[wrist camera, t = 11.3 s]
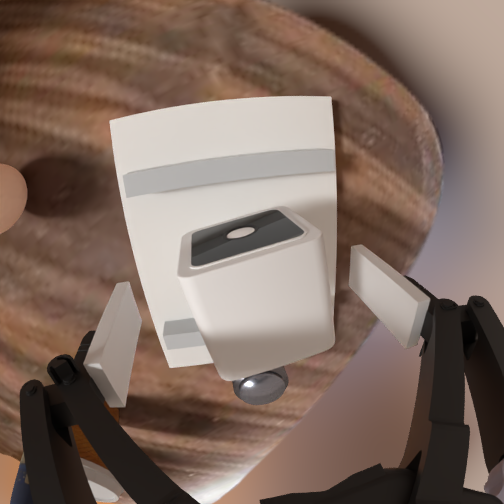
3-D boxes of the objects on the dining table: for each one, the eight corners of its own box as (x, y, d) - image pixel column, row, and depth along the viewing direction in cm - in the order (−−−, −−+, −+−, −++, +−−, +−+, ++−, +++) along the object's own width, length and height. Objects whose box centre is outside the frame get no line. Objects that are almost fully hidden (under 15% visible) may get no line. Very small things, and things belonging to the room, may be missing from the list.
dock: (113, 121, 18) (100, 119, 15) (325, 98, 19) (342, 93, 17) (170, 360, 26) (168, 382, 24) (327, 333, 28) (339, 352, 25)
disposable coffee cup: (123, 385, 27) (107, 479, 16) (138, 430, 30) (132, 508, 19) (50, 375, 25) (19, 455, 14) (74, 421, 28) (58, 492, 17)
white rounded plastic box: (268, 193, 21) (328, 234, 11) (287, 277, 23) (340, 356, 14) (183, 217, 20) (174, 280, 11) (211, 300, 23) (225, 394, 14)
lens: (223, 333, 25) (230, 378, 20) (272, 323, 25) (289, 366, 20) (231, 367, 26) (239, 411, 21) (276, 358, 27) (291, 401, 22)
